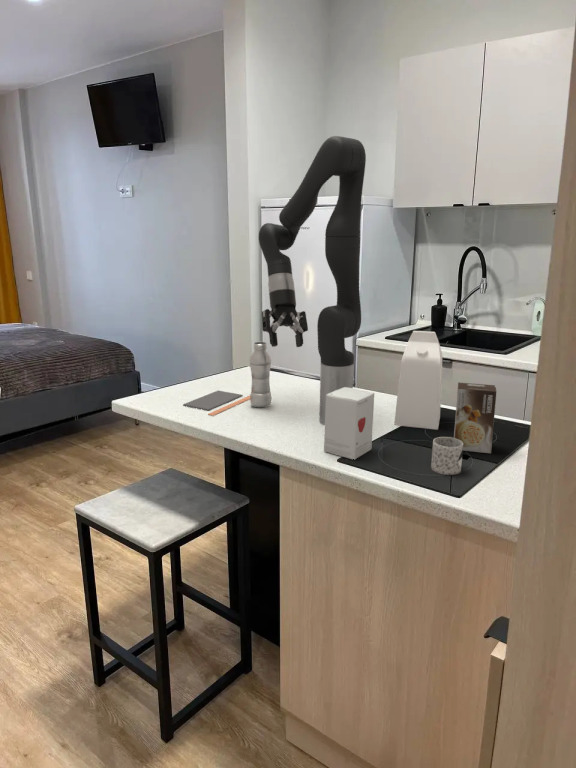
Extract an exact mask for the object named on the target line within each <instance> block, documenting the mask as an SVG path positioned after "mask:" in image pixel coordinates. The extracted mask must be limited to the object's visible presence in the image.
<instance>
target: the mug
mask: <svg viewBox="0 0 576 768" xmlns="http://www.w3.org/2000/svg"><path fill="white" fill-rule="evenodd" d="M430 462H431V464H430V469H431V470H432V471H433V472H435V473H438V474H439V475H440V474H441V475H445V476H454V475H455V476H456V475H458V474H461V472H462V462H463V442H462V441H461V440H459V439H456V438H454V437H452V436H439V437H435V438H434V439H433V441H432V450H431V461H430Z"/></svg>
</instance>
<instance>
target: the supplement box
mask: <svg viewBox="0 0 576 768" xmlns="http://www.w3.org/2000/svg"><path fill="white" fill-rule="evenodd" d="M374 405H375V392H371V391H368V390H362V389H359V388H358V389H357V388H354V387H353V388H348V387H344V388H341V389H339V390H335V391H334V392H331V393H329V394H326V407H325V425H324V434H323V435H324V437H323V438H324V440H323V452H326V453H329V454H333V455H335V456H336V455H337V456H340V457H343V458H346V459H350V460H353V459H354V461H355V460H356V459H357V458H360V457H361V456H363V455H365V454H366V453H367V452H369V451H371V450H372V448H373V447H372V445H373V443H372V442H373V428H374V409H375V407H374Z"/></svg>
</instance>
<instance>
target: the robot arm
mask: <svg viewBox="0 0 576 768" xmlns="http://www.w3.org/2000/svg"><path fill="white" fill-rule="evenodd" d="M366 157H367V156H366V150H365V146H364V144H363V143H362V141H360V140H358V139H355V138H351V137H346V136H339V135H333V136H330V137H328V138H327V139H326V140H325V141H323V143H322V144H321V146H320V148H319V149H318V151H317V152H316V155H315V156H314V158H313V160H312V162H311V164H310V166H309V168H308V170H307V172H306V173H305V176H304V177H303V179H302V181H301V183H300V185H299V186H298V188H297V189H296V191H295V192H294V194H293V195H292V196H291V198H290V199H289V201H288V202H287V203H286V204H285V205H284V206H283V208H282V209H281V211H280V213H279V215H278V219H279V222H280V224H276V223H269V222H268V223H267V222H266V223H264V224H263V225H262V226H260V229H259V232H258V243H259V246H260V249H261V251H262V254H263V257H264V260H265V262H266V266H267V277H268V283H267V284H268V286H267V287H268V295H269V296H268V297H269V307H270V309H268V308H267V309H264V310H263V311H261V326H262V328H261V329H262V332H266V333H268V336H269V344H270V345H271V347H272V348H273V347H274V348H275V347H277V346H278V335H277V330H278V328H279V327H289V328H290V329H291V330H292V331H293V332H294V334H295V335H294V339H295V346H296V348H300V347H303V344H304V336H303V334H304V333H305V332H308V331H309V327H308V326H309V325H308V320H307V314H306V311H297V310H296V306H297V300H296V290H295V281H294V278H293V267H292V261H291V258H290V257H289V255H287V254H284V253H283V252H281V251H286V250H289V249H290V248H291V247H293V245H294V243H295V241H296V239H297V237H298V234H299V232H300V229H301V227H302V226H303V225H304V224H305V223H306V221H307V220H308V219H309V217H310V216H311V215H312V214H313V212H314V210H315V209H316V205H317V202H318V197H319V194H320V191H321V189H322V187H323V186H324V185H325V183H327V182H328V180H329V179H331V178H332V177H333V176H335V177H338V178H339V184H338V185H339V187H338V197H337V201H336V204H335V206H334V208H333V211H332V213H331V215H330V217H329V220H328V222H327V225H326V227H325V235H324V236H325V238H324V239H325V240H324V245H325V246H324V249H325V250H324V253H325V259H326V263H327V265H328V267H329V269H330V272H331V273H332V276H333V279H334V281H335V284H336V305H330V306H326V307H324V308H323V309H321V311H320V312H319V314H318V318H317V325H316V327H317V329H316V330H317V350H318V354H319V357H320V373H319V374H320V375H319V376H320V378H319V381H320V382H319V418H318V421H319V423H320V424H321V425H324V426H325V407H326V394H329V393H331V392H334V391H335V390H339V389H341V388H344V387H348V388H353V389H354V370H355V369H354V368H355V367H354V366H355V365H354V364H355V355H354V353H353V352H352V351H349V350H347V349H346V345H345V342H346V341H345V339H347V338H351V337H354V336H356V335H357V334H358V332H359V330H360V329H361V324H362V308H361V296H360V294H361V293H360V254H361V217H362V215H361V213H362V199H363V197H362V196H363V188H364V187H363V186H364V181H365V173H366V172H365V171H366V161H367V159H366ZM271 317H272V322H271Z"/></svg>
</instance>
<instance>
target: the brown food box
mask: <svg viewBox="0 0 576 768" xmlns="http://www.w3.org/2000/svg"><path fill="white" fill-rule="evenodd" d="M456 393H457V394H456V402H455V404H456V405H455V416H454V417H455V418H454V431H453V438H456V439H459V440H461V441H462V442H463V451H465V452H473V453H474V452H475V453H482V454H483V453H484V454H492V447H493V445H492V444H493V436H494V426H495V425H494V424H495V416H496V415H495V412H496V401H497V388H496V385H494V384H483V383H468V382H458V383H457V392H456Z"/></svg>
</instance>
